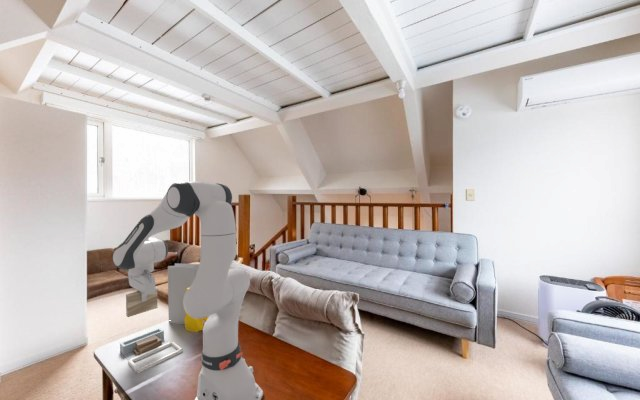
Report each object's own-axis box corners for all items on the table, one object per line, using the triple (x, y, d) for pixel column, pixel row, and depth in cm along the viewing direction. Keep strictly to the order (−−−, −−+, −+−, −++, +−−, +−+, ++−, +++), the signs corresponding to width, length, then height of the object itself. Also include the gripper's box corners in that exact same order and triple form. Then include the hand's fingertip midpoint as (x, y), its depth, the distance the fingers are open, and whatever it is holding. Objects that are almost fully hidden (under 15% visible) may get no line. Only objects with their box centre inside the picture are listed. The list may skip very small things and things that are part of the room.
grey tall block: (201, 320, 132) (200, 264, 132) (195, 326, 127) (194, 267, 126) (175, 319, 134) (175, 263, 133) (168, 324, 128) (167, 266, 128)
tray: (182, 353, 104) (182, 348, 104) (137, 376, 92) (137, 370, 91) (172, 345, 110) (172, 341, 110) (128, 365, 97) (128, 360, 97)
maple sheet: (157, 307, 113) (157, 288, 113) (127, 317, 104) (127, 295, 104) (155, 306, 114) (155, 287, 114) (126, 315, 105) (126, 294, 105)
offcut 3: (162, 346, 108) (162, 343, 108) (137, 356, 101) (137, 353, 101) (157, 342, 111) (157, 339, 111) (133, 352, 104) (133, 349, 104)
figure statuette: (215, 329, 123) (214, 285, 123) (203, 338, 116) (202, 291, 115) (187, 324, 129) (186, 281, 128) (174, 331, 121) (173, 286, 121)
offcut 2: (161, 342, 109) (161, 339, 108) (140, 352, 102) (140, 349, 102) (157, 339, 111) (157, 336, 111) (136, 349, 104) (136, 346, 104)
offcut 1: (157, 341, 107) (157, 338, 107) (137, 348, 102) (137, 345, 102) (155, 338, 110) (155, 335, 110) (135, 345, 105) (135, 342, 105)
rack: (171, 346, 110) (170, 335, 110) (129, 364, 98) (129, 353, 98) (159, 337, 117) (159, 327, 117) (119, 353, 105) (119, 342, 105)
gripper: (159, 270, 105) (160, 303, 105) (141, 263, 117) (142, 292, 118) (142, 274, 100) (142, 308, 100) (125, 266, 112) (125, 296, 113)
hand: (142, 299), depth 109 cm, fingers closed on maple sheet, 2 cm apart
